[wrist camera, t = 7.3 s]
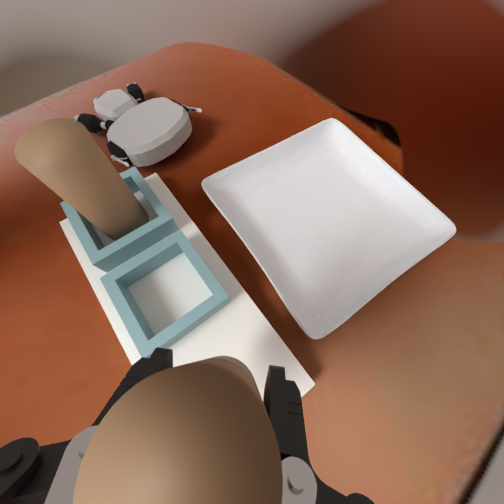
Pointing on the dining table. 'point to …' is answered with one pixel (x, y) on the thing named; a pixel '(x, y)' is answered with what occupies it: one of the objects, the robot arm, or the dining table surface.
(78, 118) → the robot toy
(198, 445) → the walnut column
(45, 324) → the dining table surface
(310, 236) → the salad plate
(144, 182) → the base board
